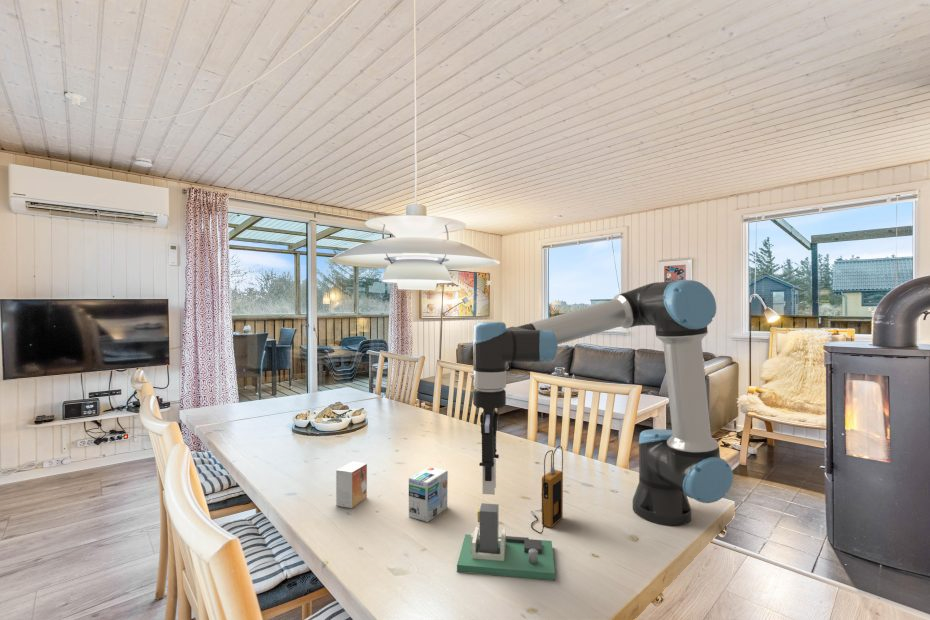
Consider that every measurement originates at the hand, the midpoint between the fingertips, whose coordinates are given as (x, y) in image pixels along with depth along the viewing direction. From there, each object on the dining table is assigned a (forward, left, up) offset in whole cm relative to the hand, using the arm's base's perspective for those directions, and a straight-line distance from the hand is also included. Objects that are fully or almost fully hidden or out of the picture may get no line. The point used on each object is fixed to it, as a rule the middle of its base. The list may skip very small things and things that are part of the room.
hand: (489, 490), depth 101 cm
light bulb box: (+19, -20, -16) cm, 32 cm away
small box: (+43, -23, -16) cm, 51 cm away
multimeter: (-12, -21, -16) cm, 29 cm away
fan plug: (0, 0, -14) cm, 14 cm away
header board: (-4, 0, -16) cm, 16 cm away
